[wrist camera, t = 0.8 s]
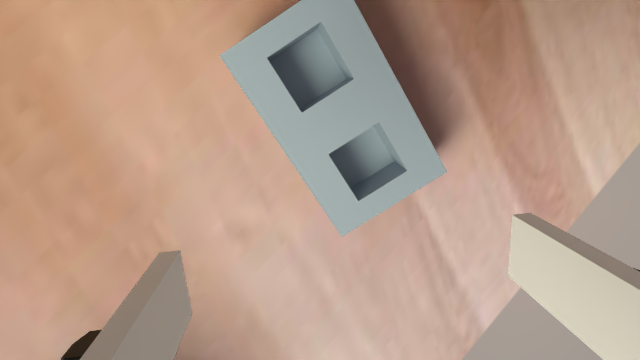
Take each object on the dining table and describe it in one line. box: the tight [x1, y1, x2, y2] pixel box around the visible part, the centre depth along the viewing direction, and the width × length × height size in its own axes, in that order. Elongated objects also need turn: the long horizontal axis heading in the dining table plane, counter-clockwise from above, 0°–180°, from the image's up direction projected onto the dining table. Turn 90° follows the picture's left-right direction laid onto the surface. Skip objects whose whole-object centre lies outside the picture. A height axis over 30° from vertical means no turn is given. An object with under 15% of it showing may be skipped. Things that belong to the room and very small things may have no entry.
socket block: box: [219, 0, 447, 236], centre depth 36 cm, size 20×12×6 cm, turn 32°
